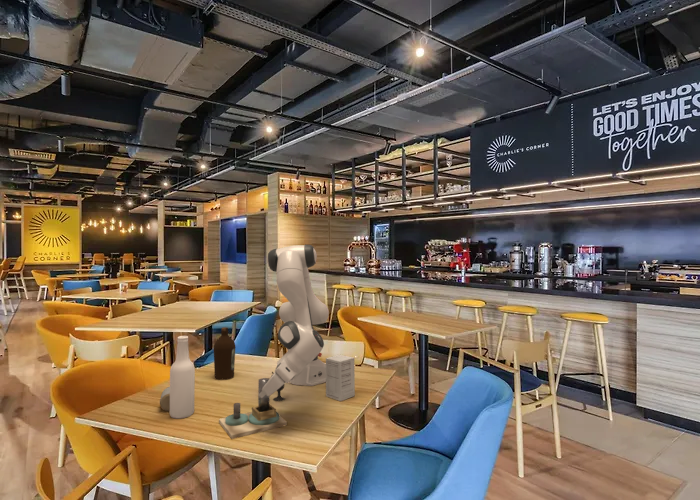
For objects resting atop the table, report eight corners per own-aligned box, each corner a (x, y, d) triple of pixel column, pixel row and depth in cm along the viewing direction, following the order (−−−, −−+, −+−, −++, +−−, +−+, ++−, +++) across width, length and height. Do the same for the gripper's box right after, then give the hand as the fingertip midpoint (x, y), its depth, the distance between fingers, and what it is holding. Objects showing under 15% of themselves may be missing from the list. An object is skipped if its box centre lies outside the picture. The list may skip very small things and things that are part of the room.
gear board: (270, 410, 156) (270, 392, 156) (286, 425, 143) (286, 404, 143) (218, 422, 145) (218, 402, 145) (231, 439, 132) (231, 416, 132)
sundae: (289, 397, 171) (289, 362, 171) (282, 403, 165) (282, 366, 165) (276, 395, 173) (276, 361, 173) (268, 401, 167) (268, 365, 167)
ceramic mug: (158, 413, 154) (159, 393, 154) (161, 405, 161) (161, 386, 161) (188, 410, 157) (188, 390, 157) (189, 403, 165) (189, 384, 165)
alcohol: (178, 421, 146) (179, 339, 147) (164, 416, 151) (165, 337, 151) (199, 413, 154) (199, 335, 154) (185, 408, 158) (185, 333, 159)
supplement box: (355, 396, 173) (355, 357, 173) (340, 401, 166) (340, 361, 166) (339, 391, 179) (339, 353, 180) (325, 396, 173) (325, 357, 173)
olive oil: (212, 381, 193) (212, 330, 194) (214, 374, 204) (215, 326, 204) (234, 379, 196) (234, 329, 196) (235, 373, 206) (236, 325, 207)
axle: (267, 406, 148) (267, 377, 148) (271, 410, 145) (271, 380, 145) (256, 409, 146) (256, 379, 146) (260, 412, 142) (260, 382, 143)
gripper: (288, 354, 156) (263, 378, 156) (276, 368, 135) (248, 396, 135) (299, 365, 156) (274, 390, 156) (289, 381, 135) (261, 410, 135)
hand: (262, 393), depth 145 cm, fingers closed on axle, 4 cm apart
